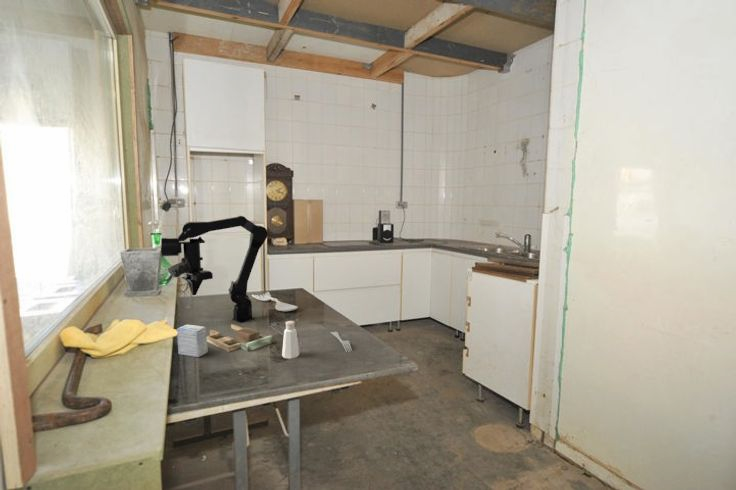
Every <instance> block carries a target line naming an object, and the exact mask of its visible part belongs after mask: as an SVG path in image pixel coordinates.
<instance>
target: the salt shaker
mask: <svg viewBox="0 0 736 490" xmlns="http://www.w3.org/2000/svg"><path fill="white" fill-rule="evenodd" d="M295 325H296V322H295V321H294V320H288V321H285V329H284V335H283V336H284V338H283V339H282V341H283V342H282V351H281V356H282V357H283V359H287V360H288V359H289V360H292V359H297V358H298V356H300V347H299V341H298V340H299V339H298V333H297V329H296V328H295Z"/></svg>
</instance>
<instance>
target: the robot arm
mask: <svg viewBox="0 0 736 490" xmlns="http://www.w3.org/2000/svg"><path fill="white" fill-rule="evenodd" d="M236 227H241V228H242V229H245V230H246V231H248V232H249V233H250V236H249V244H248V248H247V251H246V254H245V256H244V257H245V258H244V260H243V263H242V265H241V268H240V272H239V274H238V276H237V278H236V280H235V281H233V280H232V281H231V282H230V286H229V288H228V293H229V297H230V300H231V301H232V302H233V303H234V304H235V305H233V307H234V308H233V310H232V312H233V313H232V315H233V317H232V321H236V322H238V323H245V322H248V321H251V320H255V316H253V305H252V304H253V302H252V300H251V298H250V297H249V295H247V293H248V292H247V291H248V282H249V278H250V277H251V272H252V270H253V268H254V265H255V263H256V259H257V256H258V253H259V252H260V249H261V247H262V246H263V244H264V243H265V241H266V239H267V238H268V236H269V233H268V232H269V231H268V230H267V229H268V228H267V229H266V227H264V226H262V225H257V224H256V223H254V222H252V221H250V220H249V219H247V218H246V217H245V216H243V215H238V216H234V217H229V218H228V217H227V218H225V219H215V220H209V221H188V222H185V223H184V224H183V226H182V231H181V233H180V235H178V237H175V238H174V237H173V238H172V237H171V238H169V237H162V238H161V242H160V243H161V244H160V245H161V247H160V253H161V255H160V256H161V257H178V256H180V255H179V254H182V253H183V257H181V259H180V262H179V263H176V264H174V265H172V266H170V267H168V268H167V272H169V274H170V276H171V277H174V278H178V277H180V276H182V275H183V276H182V277H181V279H183V280H184V281H186V283H187V285H188V288H189V291H190V293H191V295H192V296H196V295H197V294H198V291H199V289H200V287H201V285H202V283H203V281H206V280H212V279H213V278H214V276H213V272H211V271H210V270H204V268H203V267H202V264H201V262H202V261H204V260H203V257H202V256H201V244H205V243H206V240H204V239H203V238H202V237H201V236H202V235H204V234H207V233H209V232H213V231H220V230H226V229H231V228H236ZM198 236H199V237H198ZM196 237H198V238H196ZM187 239H189V241H188V240H187ZM182 245H183V247H182ZM182 249H183V250H182ZM182 251H183V252H182Z"/></svg>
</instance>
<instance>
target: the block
mask: <svg viewBox="0 0 736 490" xmlns="http://www.w3.org/2000/svg"><path fill="white" fill-rule="evenodd" d="M243 328H244V329H241V330H238V331H236V330H235V342H236V343H245V344H246V343H249V342H252V341H255V340H258V339H260V334H261V333H260V331H257V330H255V329H252V328H249V327H243Z"/></svg>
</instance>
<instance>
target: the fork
mask: <svg viewBox="0 0 736 490" xmlns="http://www.w3.org/2000/svg"><path fill="white" fill-rule="evenodd" d="M330 334H332V335H333V336H334V337H335V338H337V339H338V341H339V343H341V345H342V346H343V348H344V350H345V352H346V353H349V352H351V351H352V352H353V350H352V349H353V348H352V346H351V344H350V341H349V340H343V339H342V337H341V336H340V333H339V332H338V331H331V332H330Z"/></svg>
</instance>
